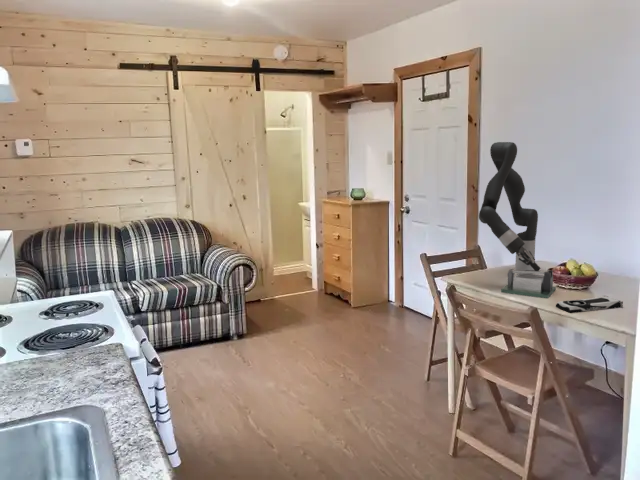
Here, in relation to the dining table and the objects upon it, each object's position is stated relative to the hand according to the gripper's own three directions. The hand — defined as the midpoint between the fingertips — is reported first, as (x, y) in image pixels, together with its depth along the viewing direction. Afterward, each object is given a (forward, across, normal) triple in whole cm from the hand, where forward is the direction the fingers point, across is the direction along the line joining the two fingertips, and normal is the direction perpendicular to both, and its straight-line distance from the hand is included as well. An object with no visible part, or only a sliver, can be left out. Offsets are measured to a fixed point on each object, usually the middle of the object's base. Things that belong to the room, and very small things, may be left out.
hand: (538, 270), depth 243 cm
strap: (-2, 0, +4) cm, 5 cm away
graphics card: (+24, -13, -8) cm, 28 cm away
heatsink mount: (+4, 0, +10) cm, 11 cm away
